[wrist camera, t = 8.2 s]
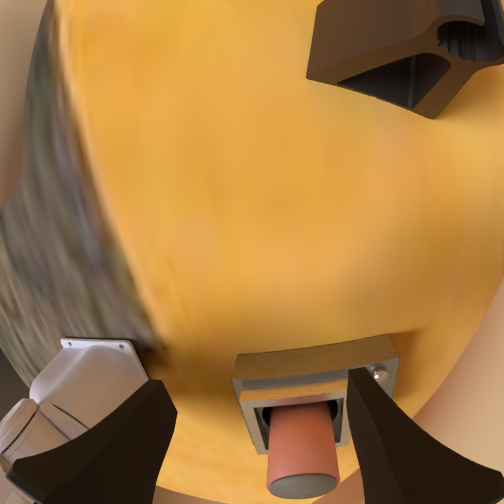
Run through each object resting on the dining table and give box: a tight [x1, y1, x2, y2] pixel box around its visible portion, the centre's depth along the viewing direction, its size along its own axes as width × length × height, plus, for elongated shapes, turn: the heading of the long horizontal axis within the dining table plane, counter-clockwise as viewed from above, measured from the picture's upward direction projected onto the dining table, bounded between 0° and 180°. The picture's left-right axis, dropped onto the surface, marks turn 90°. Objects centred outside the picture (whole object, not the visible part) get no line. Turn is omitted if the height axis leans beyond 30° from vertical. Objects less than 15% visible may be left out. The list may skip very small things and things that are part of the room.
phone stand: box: [306, 0, 504, 119], centre depth 8 cm, size 9×6×12 cm, turn 80°
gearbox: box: [232, 334, 400, 454], centre depth 19 cm, size 12×9×4 cm
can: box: [266, 401, 340, 499], centre depth 15 cm, size 5×5×7 cm
